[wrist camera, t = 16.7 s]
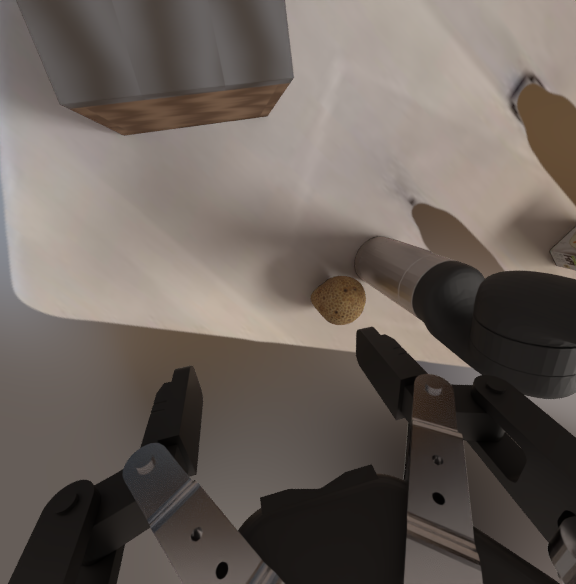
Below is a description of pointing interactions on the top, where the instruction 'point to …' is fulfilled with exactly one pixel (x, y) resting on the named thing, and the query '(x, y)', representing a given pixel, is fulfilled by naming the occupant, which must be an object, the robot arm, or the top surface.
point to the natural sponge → (339, 300)
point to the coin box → (163, 59)
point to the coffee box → (566, 251)
